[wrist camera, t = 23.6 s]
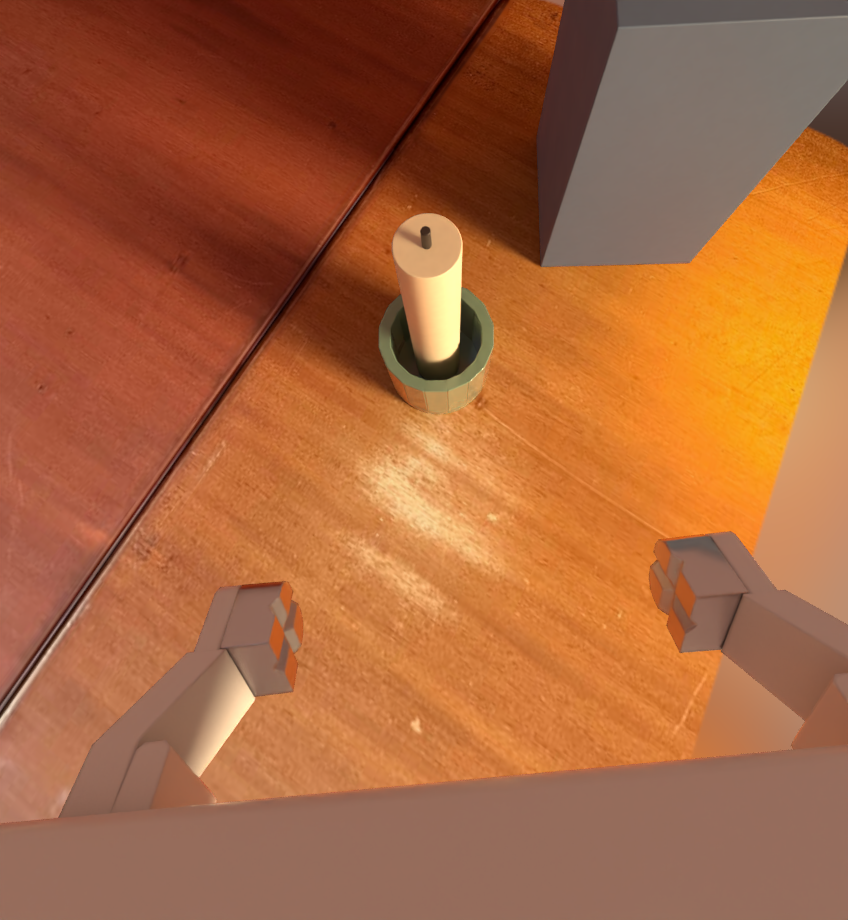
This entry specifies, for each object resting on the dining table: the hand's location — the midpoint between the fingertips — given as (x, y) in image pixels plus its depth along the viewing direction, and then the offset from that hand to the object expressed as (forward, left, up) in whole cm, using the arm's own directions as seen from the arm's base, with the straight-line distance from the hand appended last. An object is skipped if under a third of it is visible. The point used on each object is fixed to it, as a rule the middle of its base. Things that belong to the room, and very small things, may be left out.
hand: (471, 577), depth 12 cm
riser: (-11, -24, -22) cm, 34 cm away
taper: (+1, -12, -21) cm, 24 cm away
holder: (+1, -12, -22) cm, 25 cm away
